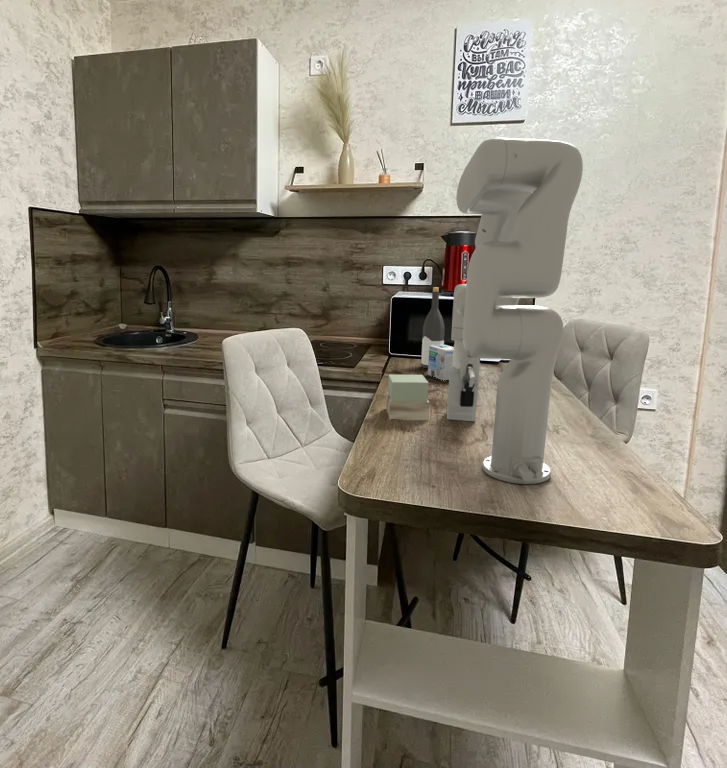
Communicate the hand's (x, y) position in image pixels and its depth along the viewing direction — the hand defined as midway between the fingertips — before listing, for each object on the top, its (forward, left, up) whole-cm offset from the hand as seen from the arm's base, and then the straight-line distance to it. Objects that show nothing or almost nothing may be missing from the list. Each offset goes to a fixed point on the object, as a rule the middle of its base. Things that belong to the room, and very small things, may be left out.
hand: (462, 401), depth 134 cm
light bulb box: (+47, -5, -4) cm, 47 cm away
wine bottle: (+64, -4, -4) cm, 64 cm away
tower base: (+2, +14, -4) cm, 15 cm away
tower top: (+2, +14, +1) cm, 14 cm away
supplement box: (0, 0, -4) cm, 4 cm away
